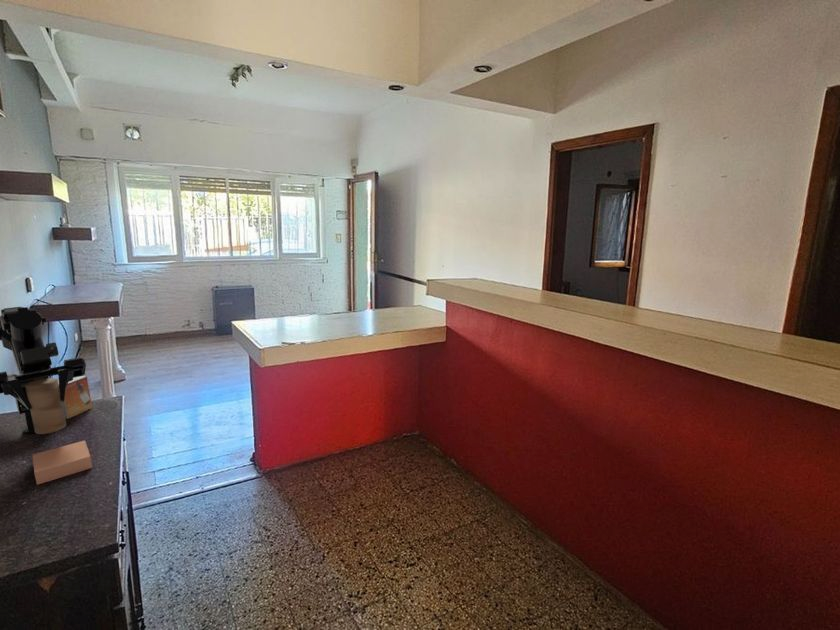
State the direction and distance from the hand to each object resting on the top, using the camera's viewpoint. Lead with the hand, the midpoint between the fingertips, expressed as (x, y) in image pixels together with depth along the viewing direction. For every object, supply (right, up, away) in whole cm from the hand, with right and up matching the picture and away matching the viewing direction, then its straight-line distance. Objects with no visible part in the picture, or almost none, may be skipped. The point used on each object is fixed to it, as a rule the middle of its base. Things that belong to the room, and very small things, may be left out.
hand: (46, 404), depth 105 cm
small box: (-14, -8, +26) cm, 31 cm away
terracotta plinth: (+5, -14, -2) cm, 16 cm away
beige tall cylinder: (-1, -6, +2) cm, 7 cm away
